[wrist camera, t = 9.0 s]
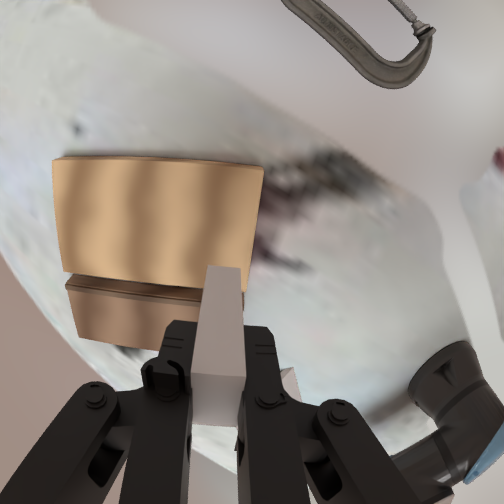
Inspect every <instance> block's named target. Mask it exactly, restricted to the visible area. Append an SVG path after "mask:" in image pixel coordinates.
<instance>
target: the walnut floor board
mask: <svg viewBox="0 0 504 504" xmlns="http://www.w3.org/2000/svg"><path fill="white" fill-rule="evenodd" d="M65 288H66V290H67V291H68V295H69V300H70V304H71V309H72V313H73V317H74V321H75V325H76V328H77V332H78V336H79V337H80V338H85V339H89V340H94V341H100V342H105V343H110V344H116V345H121V346H127V347H134V348H140V349H147V350H154V351H160V347H161V344H162V340H163V337H164V333H165V330H166V327H167V326H168V325H169V324H170V323H171V322H172V321H173V320H174V319H175V320H183V321H192V322H198V320H199V314H200V308H201V302H202V296H203V290H201V289H191V288H181V287H171V286H162V285H153V284H144V283H136V282H127V281H119V280H112V279H104V278H97V277H89V276H82V275H75V274H73V275H72V276H71V277H70V279H69V280H68V281H67V282H66V284H65ZM242 308H243V311H244V294H243V293H242Z"/></svg>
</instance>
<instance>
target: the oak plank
mask: <svg viewBox="0 0 504 504" xmlns="http://www.w3.org/2000/svg"><path fill="white" fill-rule="evenodd" d="M263 175H264V170H263V168H262V167H260V166H252V165H244V164H235V163H225V162H214V161H203V160H190V159H175V158H157V157H128V156H76V157H61V158H58V159H55V160H52V179H53V196H54V208H55V218H56V226H57V234H58V241H59V248H60V254H61V260H62V265H63V271H64V272H70V273H77V274H84V275H91V276H98V277H106V278H114V279H122V280H130V281H138V282H147V283H156V284H165V285H174V286H184V287H194V288H204V284H205V278H206V273H207V267H208V265H213V266H223V267H234V268H241V289H242V292H246V289H247V282H248V275H249V268H250V262H251V255H252V248H253V242H254V235H255V228H256V222H257V215H258V208H259V201H260V195H261V188H262V181H263Z"/></svg>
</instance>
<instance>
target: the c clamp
mask: <svg viewBox="0 0 504 504" xmlns="http://www.w3.org/2000/svg"><path fill="white" fill-rule="evenodd" d="M281 1H282V2H283V4H284V5H285V6H286V7H287V8H288V9H289V10H290V11H292V12H293V13H294V14H295V15H297V16H298V17H299V18H300V19H302V20H303V21H304V22H305V23H307V24H308V25H309V26H310V27H311V28H312V29H314V30H315V31H316V32H317V33H318V34H319V35H320V36H322V37H323V38H324V39H325V40H326V41H327V42H328V43H329V44H330V45H331V46H333V47H334V48H335V49H336V50H337V51H338V52H339V53H340V54H341V55H342V56H343V57H344V58H345V59H346V60H347V61H348V62H349V63H350V64H351V65H352V66H353V67H354V68H355V69H356V70H357V71H358V72H359V73H360V74H361V75H362V76H363V77H364V78H365V79H367V80H368V81H370V82H371V83H373V84H375V85H377V86H380V87H382V88H387V89H399V88H403V87H406V86H408V85H409V84H411V83H412V82H413V81H414V80H415V79H416V78H417V77H418V76H419V75H420V73H421V72H422V71H423V69H424V68H425V66H426V64H427V62H428V59H429V56H430V53H431V48H432V35H433V34H434V33H435V32H436V29H435V28H434V27H430V25H429V24H424V23H422V22H421V21H420V20H418V21H417V20H416V18H417V16H415V14H413V12H412V11H411V10H410V9H409V7H407V5H405V3H403V1H402V0H388V1H389V2H390V3H391V4H392V5H393V6H394V7H395V8H396V9H397V10H398V11H399V12H400V13H401V14H402V15H403V17H405V19H406V20H407V21H409V22H412V23H413V25H411V26H412V28H413V29H414V34H413V35H414V36H416V37H417V39H418V40H419V43H418V45H417V46H416V47H415V49H414V50H412V51H411V52H410V53H409V54H408V55H407V56H406V57H405V58H404V59H403V60H401V61H396V62H392V61H388V60H386V59H384V58H382V57H381V56H380V55H378V54H377V53H376V52H375V51H374V50H373V48H371V46H370V45H369V44H368V43H367V42H366V41H365V40H364V39H363V38H362V37H361V36H360V35H359V34H358V33H357V32H356V31H355V30H354V29H353V28H352V27H350V25H348V24H347V23H346V22H345V21H344V20H343V19H342V18H341V17H340V16H338V15H337V14H336V13H335V12H334V11H333V10H332V9H330V8H329V7H328V6H327V5H326V4H324V3H323V2H322V1H321V0H281Z"/></svg>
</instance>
